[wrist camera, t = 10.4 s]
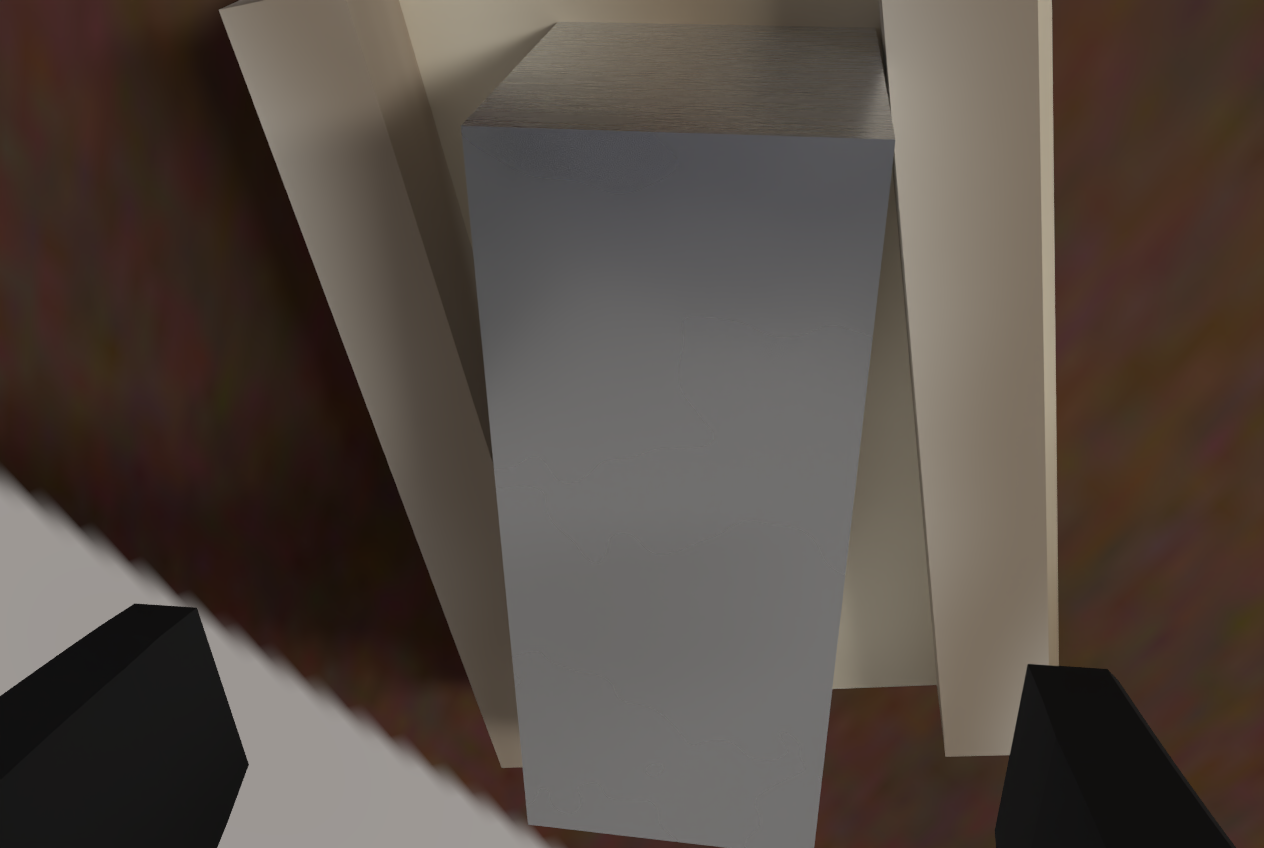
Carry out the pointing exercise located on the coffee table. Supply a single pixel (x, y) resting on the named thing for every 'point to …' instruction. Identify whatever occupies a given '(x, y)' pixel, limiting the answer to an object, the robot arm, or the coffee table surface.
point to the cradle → (902, 338)
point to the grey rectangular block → (678, 408)
